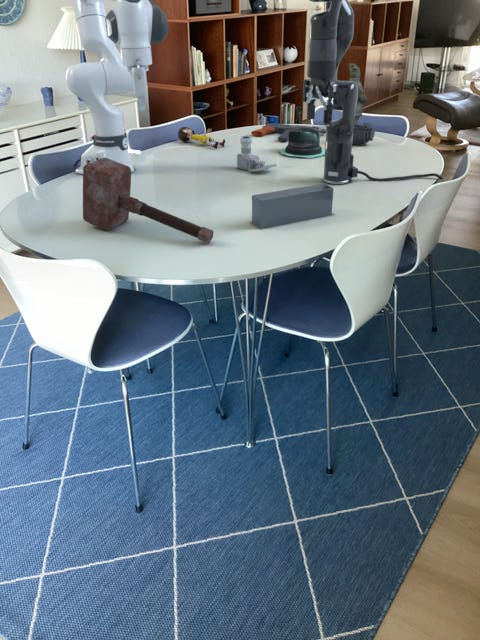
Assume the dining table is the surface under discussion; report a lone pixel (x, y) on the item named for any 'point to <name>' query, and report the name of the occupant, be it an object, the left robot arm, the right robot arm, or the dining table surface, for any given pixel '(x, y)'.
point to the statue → (361, 97)
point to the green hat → (303, 143)
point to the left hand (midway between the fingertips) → (141, 108)
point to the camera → (249, 157)
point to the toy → (363, 134)
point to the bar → (291, 205)
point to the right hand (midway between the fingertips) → (318, 121)
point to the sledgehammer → (123, 200)
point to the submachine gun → (281, 130)
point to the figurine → (197, 137)
